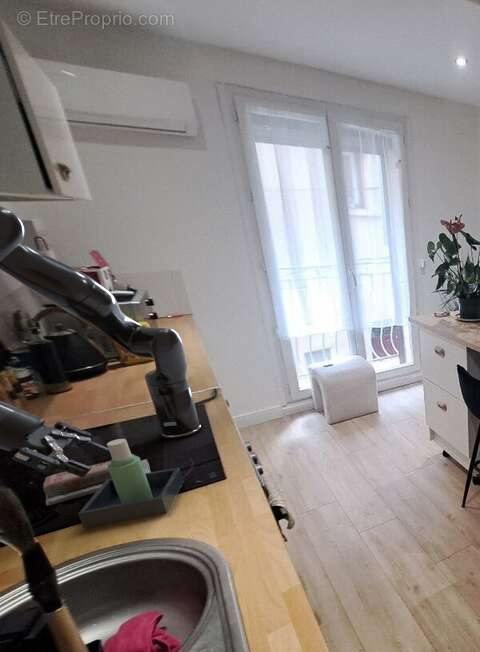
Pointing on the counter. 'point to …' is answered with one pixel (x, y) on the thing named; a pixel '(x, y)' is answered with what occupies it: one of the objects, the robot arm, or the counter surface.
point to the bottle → (127, 473)
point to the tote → (111, 511)
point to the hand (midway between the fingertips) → (97, 462)
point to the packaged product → (78, 483)
